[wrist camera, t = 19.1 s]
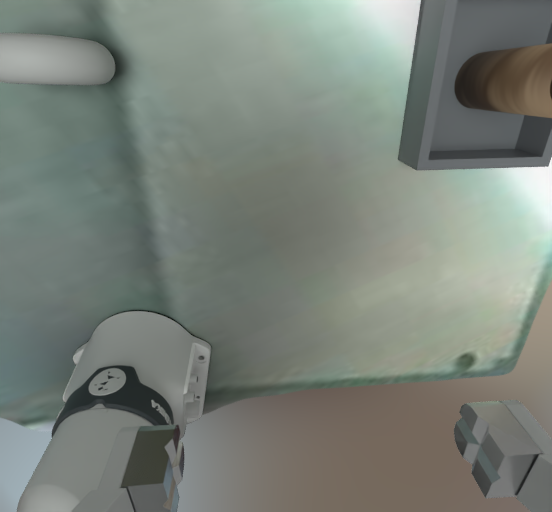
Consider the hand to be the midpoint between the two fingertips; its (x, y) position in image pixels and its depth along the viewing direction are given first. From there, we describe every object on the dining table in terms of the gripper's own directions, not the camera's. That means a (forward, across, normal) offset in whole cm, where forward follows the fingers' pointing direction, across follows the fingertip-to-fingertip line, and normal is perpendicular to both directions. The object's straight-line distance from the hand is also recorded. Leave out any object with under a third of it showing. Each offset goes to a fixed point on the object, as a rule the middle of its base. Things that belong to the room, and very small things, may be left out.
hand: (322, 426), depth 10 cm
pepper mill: (+32, +22, +8) cm, 40 cm away
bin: (+33, +22, +8) cm, 41 cm away
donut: (+33, -18, +10) cm, 39 cm away
